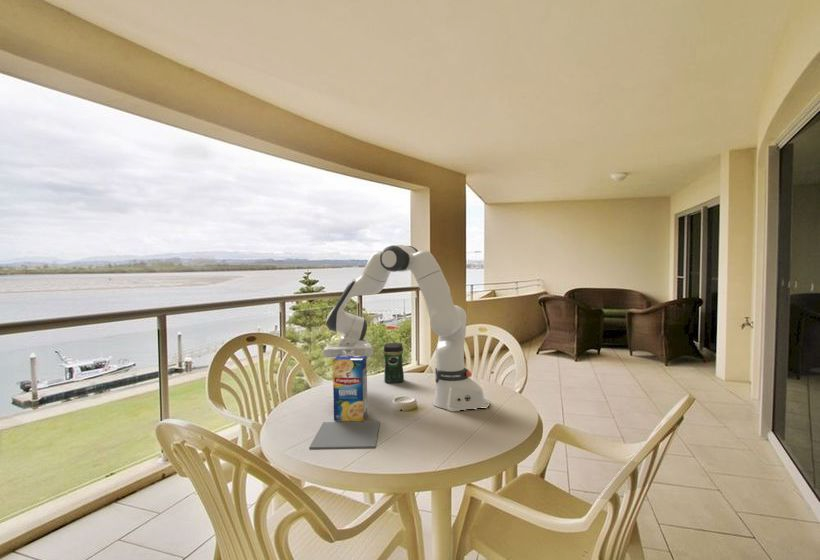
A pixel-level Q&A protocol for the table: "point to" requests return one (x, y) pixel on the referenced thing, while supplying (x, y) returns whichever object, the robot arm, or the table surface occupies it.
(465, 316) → the robot arm
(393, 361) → the coffee jar
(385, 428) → the table surface
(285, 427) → the table surface
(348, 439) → the mat
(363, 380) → the blue cardboard box
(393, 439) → the table surface
